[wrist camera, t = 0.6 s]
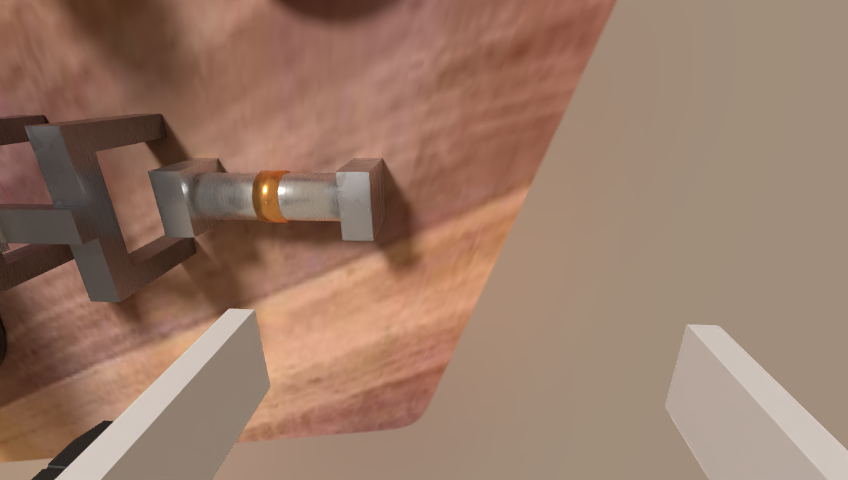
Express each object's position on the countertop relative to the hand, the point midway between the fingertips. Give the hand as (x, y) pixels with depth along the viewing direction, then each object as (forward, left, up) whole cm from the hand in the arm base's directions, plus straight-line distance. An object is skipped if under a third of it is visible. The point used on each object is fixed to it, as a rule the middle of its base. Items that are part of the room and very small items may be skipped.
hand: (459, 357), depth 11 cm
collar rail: (-27, 0, -18) cm, 32 cm away
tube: (-13, 0, -18) cm, 22 cm away
